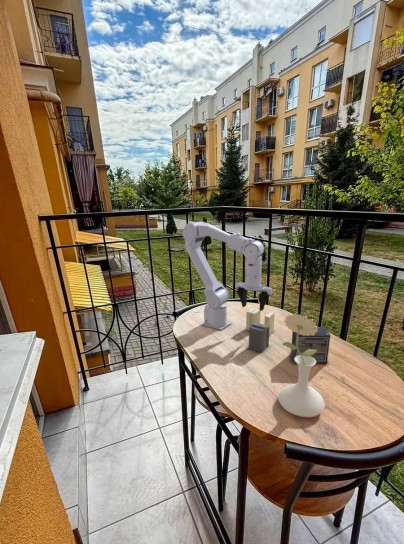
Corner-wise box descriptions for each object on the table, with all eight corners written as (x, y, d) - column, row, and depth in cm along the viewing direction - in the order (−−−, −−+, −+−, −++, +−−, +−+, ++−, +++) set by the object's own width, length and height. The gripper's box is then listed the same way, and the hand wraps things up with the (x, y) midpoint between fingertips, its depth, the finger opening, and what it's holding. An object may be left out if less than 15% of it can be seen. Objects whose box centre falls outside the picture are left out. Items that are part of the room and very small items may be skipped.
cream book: (269, 329, 114) (270, 311, 111) (273, 331, 113) (274, 312, 110) (263, 334, 111) (264, 316, 108) (268, 335, 110) (269, 317, 107)
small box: (321, 353, 96) (325, 326, 92) (327, 364, 90) (331, 335, 86) (290, 353, 97) (292, 325, 93) (293, 363, 91) (296, 335, 87)
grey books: (248, 348, 101) (249, 326, 98) (256, 342, 105) (257, 320, 102) (261, 352, 98) (262, 329, 95) (268, 345, 102) (269, 323, 99)
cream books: (246, 329, 115) (246, 311, 112) (251, 325, 119) (252, 307, 116) (254, 331, 113) (254, 313, 110) (260, 327, 117) (260, 309, 114)
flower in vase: (333, 409, 71) (347, 320, 62) (303, 429, 66) (314, 334, 57) (293, 383, 82) (300, 303, 73) (264, 398, 76) (268, 314, 67)
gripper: (231, 274, 106) (231, 307, 111) (266, 279, 97) (265, 315, 102) (240, 270, 111) (240, 302, 116) (275, 275, 103) (273, 309, 107)
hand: (252, 308), depth 109 cm, fingers open, 7 cm apart
